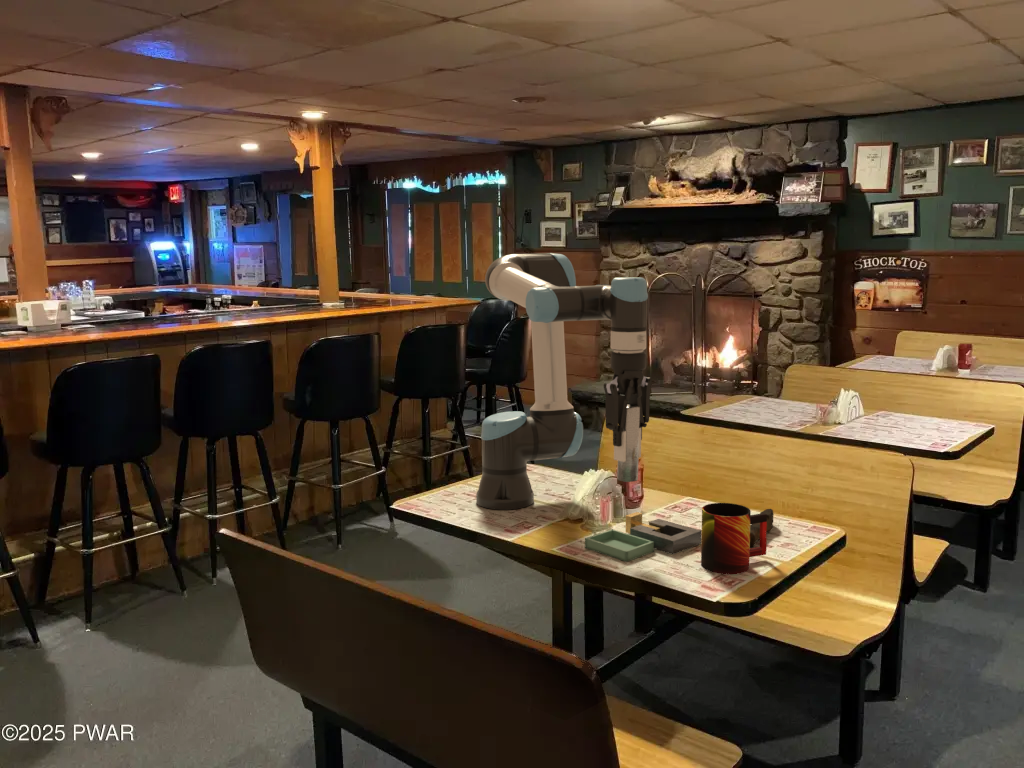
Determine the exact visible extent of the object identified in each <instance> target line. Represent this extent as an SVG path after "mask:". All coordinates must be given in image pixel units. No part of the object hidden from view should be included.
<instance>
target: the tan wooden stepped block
mask: <svg viewBox="0 0 1024 768" xmlns="http://www.w3.org/2000/svg"><path fill="white" fill-rule="evenodd" d="M638 525H643V526H646V527H650V528H653V529H655V532H659V533H660V528H658V527H655V526H651V525H649V523H648V524H647V523H644V522H643V513H642V512H638V511H635V512H632V513H630V514H629V513H628V514H626V515H625V533H627V534H630V528H633V527H636V526H638Z"/></svg>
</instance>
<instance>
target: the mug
mask: <svg viewBox="0 0 1024 768" xmlns="http://www.w3.org/2000/svg"><path fill="white" fill-rule="evenodd" d="M751 512H752V511H751V509H750V508H749V507H747V506H745V505H742V504H739V503H738V504H737V503H732V502H731V503H729V502H715V503H709V504H705V505H703V506H702V507H701V544H700V546H701V547H700V553H701V555H700V565H701V567H702V568H703V569H704V570H706V571H708V572H711V573H714V574H719V575H727V576H728V575H730V576H733V575H741V574H743V573H746V572H748V571H750V570H749V569H750V558H753V557H760V556H765V555H767V540H768V539H767V532H766V528H767V514H765V513H761V512H760V513H761V514H760V513H756V514H752V513H751ZM755 523H760V538H759V544H758V545H759V546H757V547H753V548H750V525H751V524H755Z"/></svg>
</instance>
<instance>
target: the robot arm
mask: <svg viewBox="0 0 1024 768" xmlns="http://www.w3.org/2000/svg"><path fill="white" fill-rule="evenodd" d="M484 277H485V278H484V281H485V287H486V288H487V290H488V291H489V293H490V294H491V295H493V296H494V297H495V298H496V299H500V300H502V301H506V302H507V301H511V302H512V303H515V304H517V305H519V306H521V307H523V308H525V311H526V314H527V316H528V318H529V320H530V326H531V327H530V328H531V330H530V331H531V345H532V367H533V381H534V382H533V383H534V384H533V386H534V388H533V389H534V400H535V401H534V404H532V406H531V407H530V408H529V416H527V414H526V413H525V412H523V411H518V410H514V411H504V412H503V411H502V412H498V413H493V414H491V415H489V416H487V417H485V418H484V419H483V420H482V423H481V433H480V439H481V461H482V463H481V464H482V465H481V468H482V474H481V479H480V481H479V484H478V489H477V491H476V495H475V498H476V499H475V500H476V501H475V502H476V504H477V505H478V506H479V507H481V508H482V507H483V508H486V509H490V510H499V511H500V510H501V511H504V510H506V511H507V510H516V509H517V510H518V509H521V508H526V507H529V506H531V505H532V504H533V503H534V502H535V496H534V494H535V493H534V490H533V488H532V485H531V481H530V478H529V475H528V469H527V468H528V467H527V464H528V463H527V462H530V461H540V460H550V459H559V460H560V459H563V458H567V457H573V456H575V455H576V454H577V453H578V451H579V450H580V449H581V448H580V447H581V445H582V442H583V438H584V424H583V422H582V417H581V415H580V414H579V413H577V412H575V410H574V409H575V408H574V406H573V405H572V404H571V403H570V402H569V400H568V386H567V385H568V383H567V381H568V380H567V365H566V363H567V362H566V346H565V345H566V343H565V326H564V325H565V323H564V322H575V321H577V322H579V321H580V322H581V321H600V320H601V321H604V320H607V321H610V347H609V348H610V349H611V350H612V351H611V352H610V368H611V370H613V376H612V380H611V381H610V382H605V383H604V384H603V390H604V394H605V428H606V429H607V430H610V431H612V445H613V460H614V461H617V462H618V461H622V462H625V461H626V431H623V429H624V423H625V416H626V408H627V405H635V406H640V422H639V456H638V459H639V458H641V457H642V441H643V440H642V439H643V428H646V427H647V426H648V425H647V423H649V422H650V406H651V405H650V402H651V401H650V399H651V398H650V397H651V385H652V381H653V380H652V377H647V376H645V375H644V372H643V371H644V370H646V368H647V353H646V351H644V350H646V349H647V329H648V328H647V326H648V298H649V294H648V284H647V283H648V282H647V280H646V279H645V278H644V277H641V276H639V277H636V276H635V277H633V276H631V277H630V276H629V277H628V276H627V277H626V276H623V277H621V276H619V277H614V278H613V279H612V280H611V282H610V283H611V284H610V285H609V284H596V285H580V286H579V285H577V281H576V280H577V278H576V273H575V270H574V266H573V264H572V261H570V259H569V257H567V256H566V255H564V254H562V253H553V252H545V253H542V252H541V253H511V254H506V255H503V256H500V257H498V258H496V259H495V260H494V261H493V262H492V263H490V264H489V266H488V268H487V269H486V273H485V276H484Z"/></svg>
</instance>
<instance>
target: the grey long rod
mask: <svg viewBox="0 0 1024 768" xmlns="http://www.w3.org/2000/svg"><path fill="white" fill-rule="evenodd" d="M639 422H640V406H635V405H629V404H627V408H626V416H625V423H624V429H623V431H626V461H625V462H622V461H618V460H617V472H616V473H617V475H616V476H617V480H618V481H620V482H626V483H630V482H631V483H632V482H633V483H635V482H637V481H638V480H639V458H638V456H639Z"/></svg>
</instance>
